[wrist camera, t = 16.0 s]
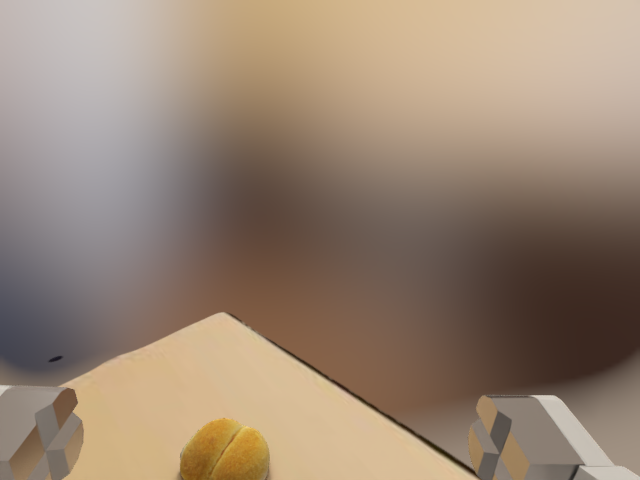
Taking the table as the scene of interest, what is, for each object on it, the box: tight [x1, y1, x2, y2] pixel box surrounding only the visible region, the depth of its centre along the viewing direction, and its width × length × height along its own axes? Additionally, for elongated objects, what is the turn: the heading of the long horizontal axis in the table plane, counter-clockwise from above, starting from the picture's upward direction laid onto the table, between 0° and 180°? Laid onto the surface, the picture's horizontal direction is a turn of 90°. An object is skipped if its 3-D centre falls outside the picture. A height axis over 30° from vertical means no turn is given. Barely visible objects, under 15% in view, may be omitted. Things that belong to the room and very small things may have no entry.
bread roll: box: [180, 418, 270, 480], centre depth 41 cm, size 8×9×4 cm
